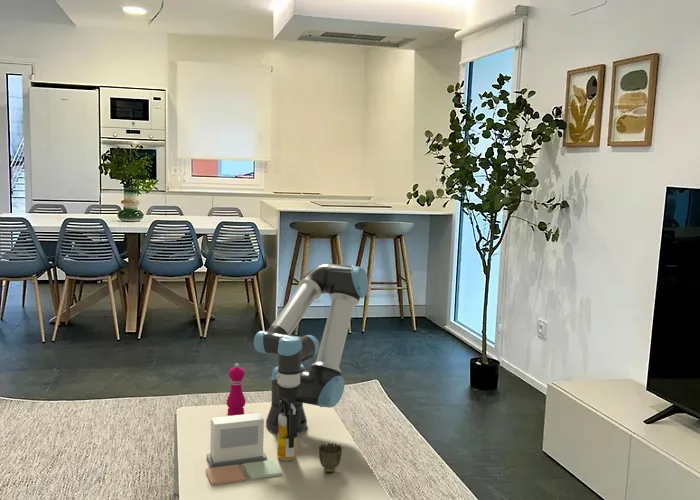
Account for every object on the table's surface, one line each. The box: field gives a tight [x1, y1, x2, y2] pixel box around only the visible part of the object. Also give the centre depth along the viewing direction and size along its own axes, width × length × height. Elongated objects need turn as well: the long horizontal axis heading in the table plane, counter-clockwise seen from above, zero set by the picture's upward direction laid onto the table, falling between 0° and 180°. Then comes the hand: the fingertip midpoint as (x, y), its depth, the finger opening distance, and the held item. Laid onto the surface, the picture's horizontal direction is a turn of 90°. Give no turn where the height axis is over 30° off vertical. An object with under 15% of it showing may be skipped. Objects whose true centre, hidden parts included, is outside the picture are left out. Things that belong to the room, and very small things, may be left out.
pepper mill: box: [226, 362, 246, 416], centre depth 254 cm, size 7×7×20 cm
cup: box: [318, 442, 343, 474], centre depth 208 cm, size 8×7×8 cm
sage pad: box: [242, 459, 283, 481], centre depth 207 cm, size 10×10×1 cm
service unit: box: [206, 412, 268, 468], centre depth 213 cm, size 18×8×14 cm, turn 113°
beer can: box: [276, 412, 297, 462], centre depth 217 cm, size 6×6×15 cm
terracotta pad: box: [204, 464, 245, 486], centre depth 203 cm, size 10×10×1 cm
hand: (286, 451), depth 217 cm, fingers open, 6 cm apart
